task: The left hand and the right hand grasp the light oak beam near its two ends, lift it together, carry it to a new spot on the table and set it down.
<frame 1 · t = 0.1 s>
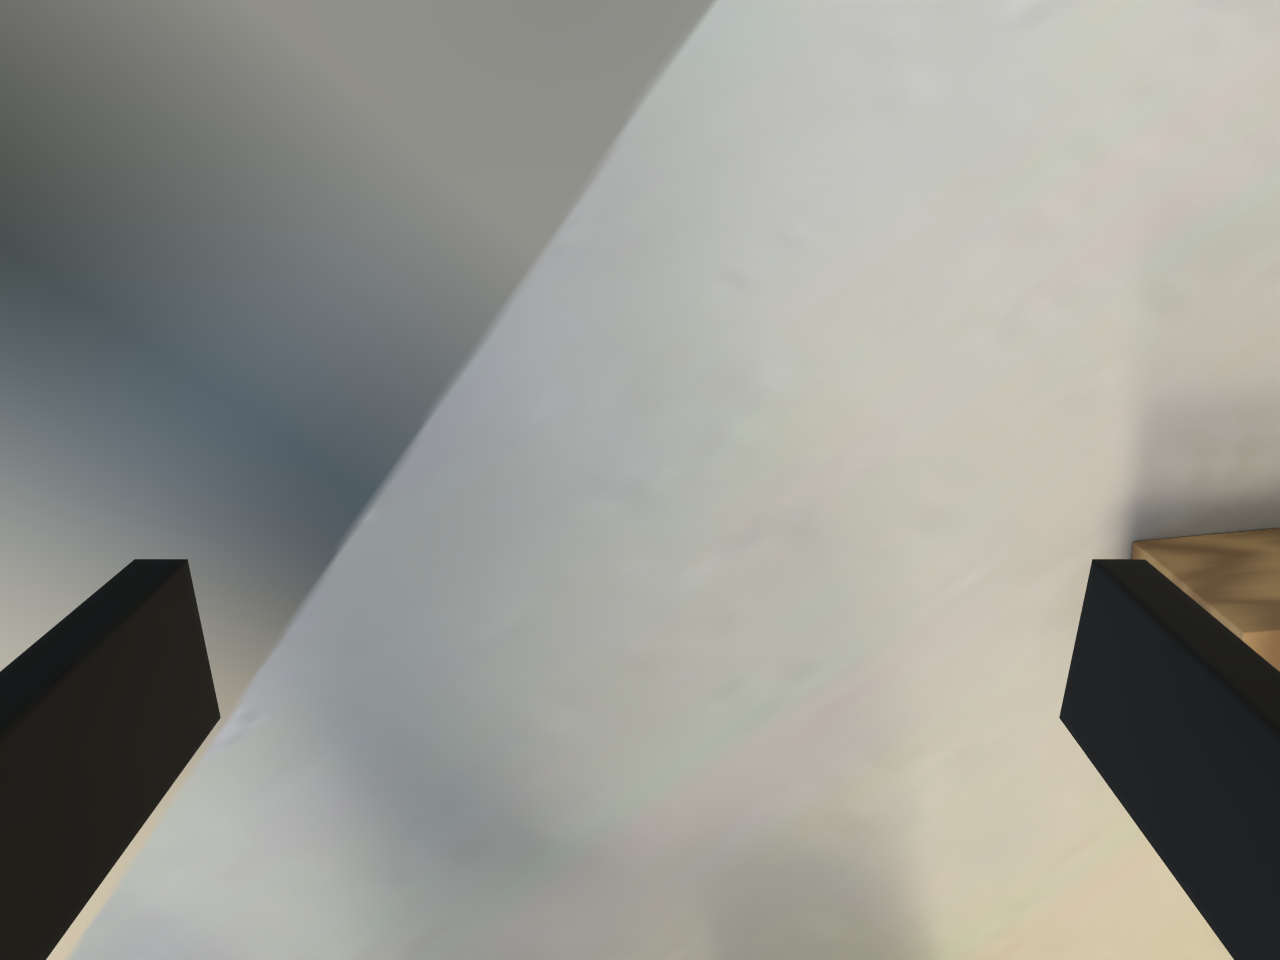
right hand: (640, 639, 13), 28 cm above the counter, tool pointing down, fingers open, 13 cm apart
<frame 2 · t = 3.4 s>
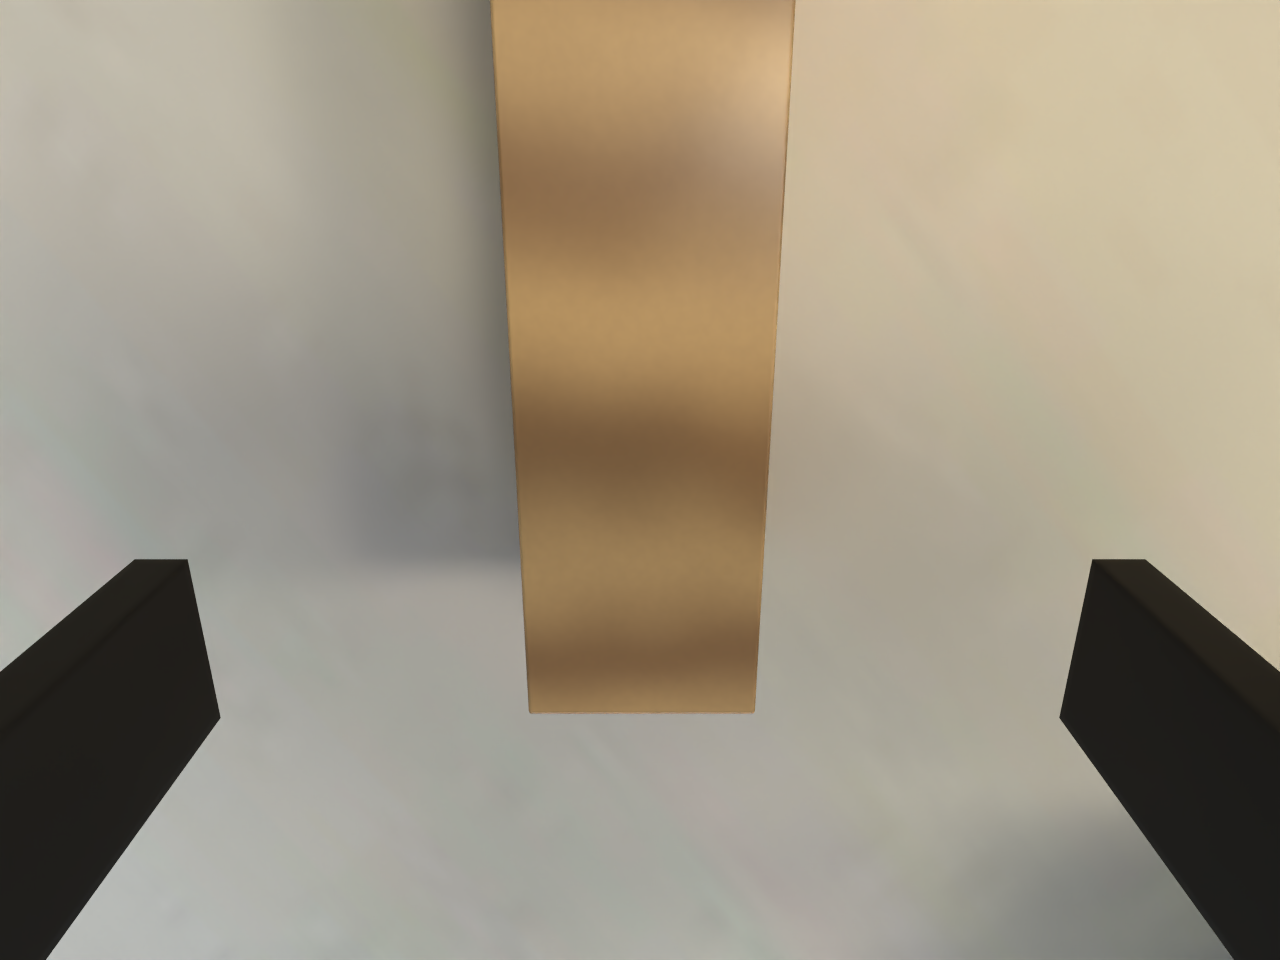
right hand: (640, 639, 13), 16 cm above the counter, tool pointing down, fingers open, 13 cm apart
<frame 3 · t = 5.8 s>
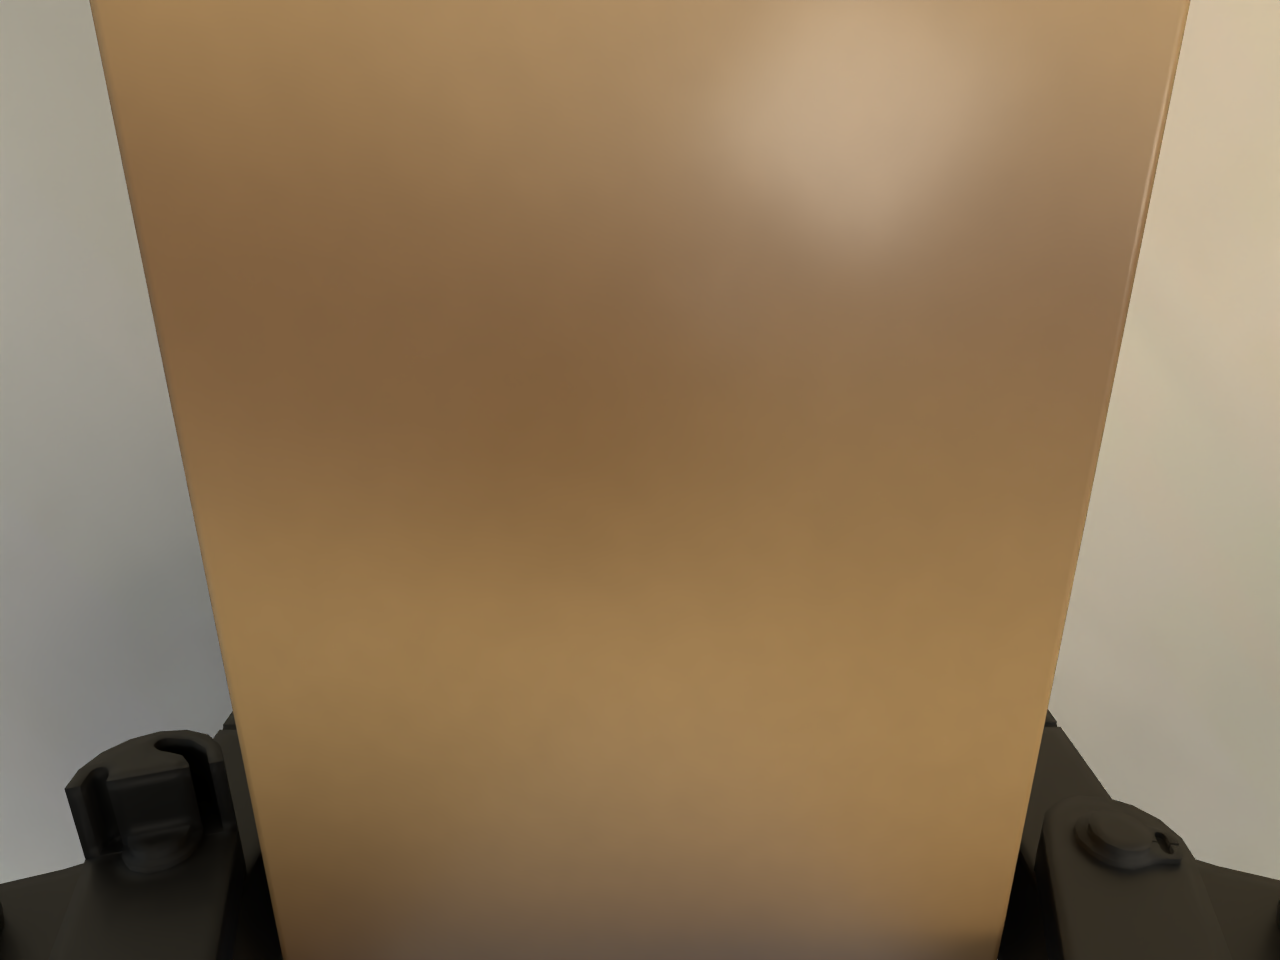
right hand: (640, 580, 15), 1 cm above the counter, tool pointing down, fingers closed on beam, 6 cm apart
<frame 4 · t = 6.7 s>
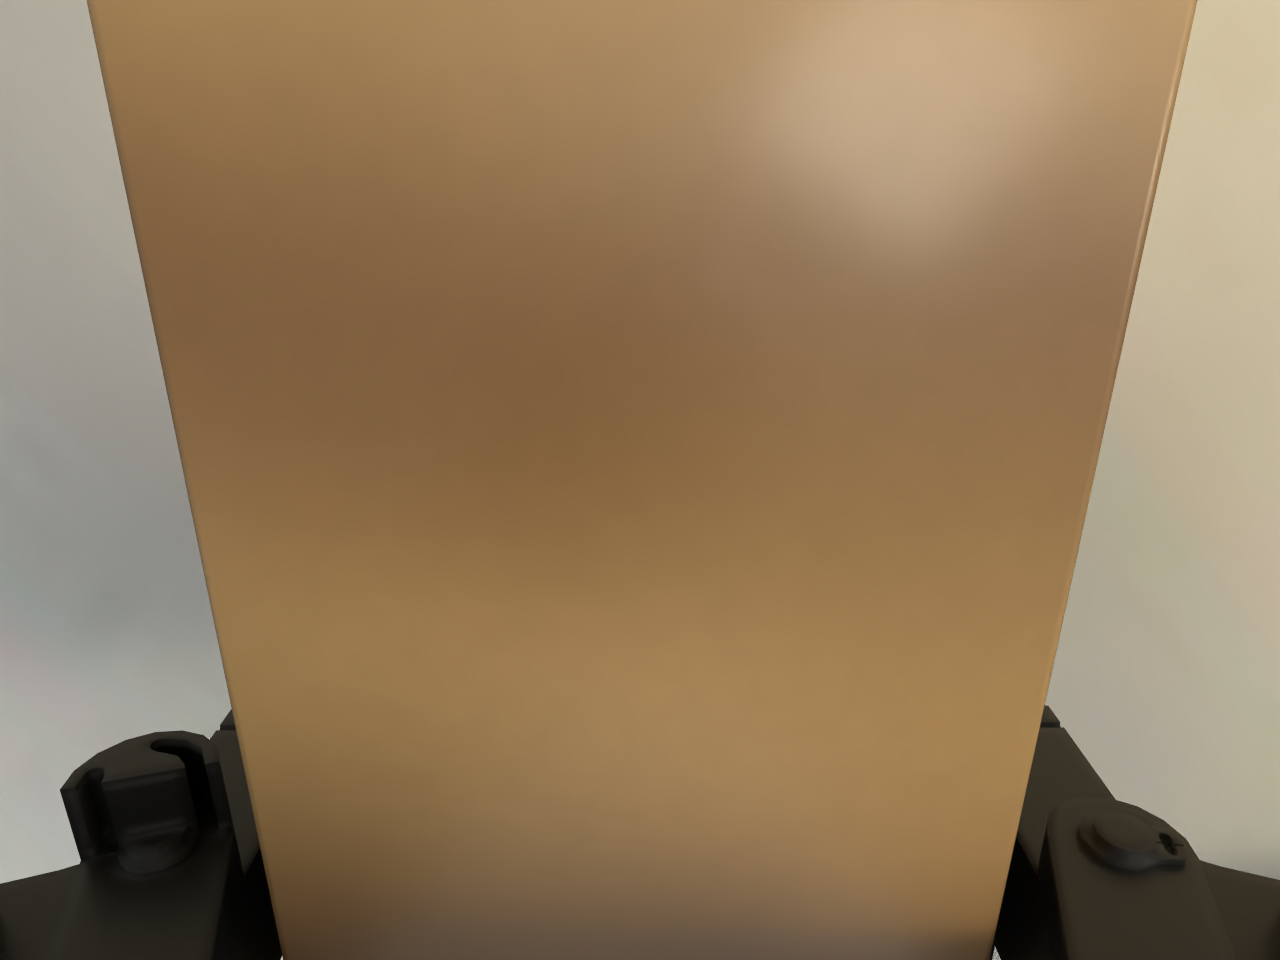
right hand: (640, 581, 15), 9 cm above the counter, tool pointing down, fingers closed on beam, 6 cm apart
when the right hand's fingers open (2 cm above the counter, at t = 10.3 s): beam stays where it is, on the counter.
when the left hand's fingers open (4 cm above the counter, at t = 10.5 s): beam stays where it is, on the counter.
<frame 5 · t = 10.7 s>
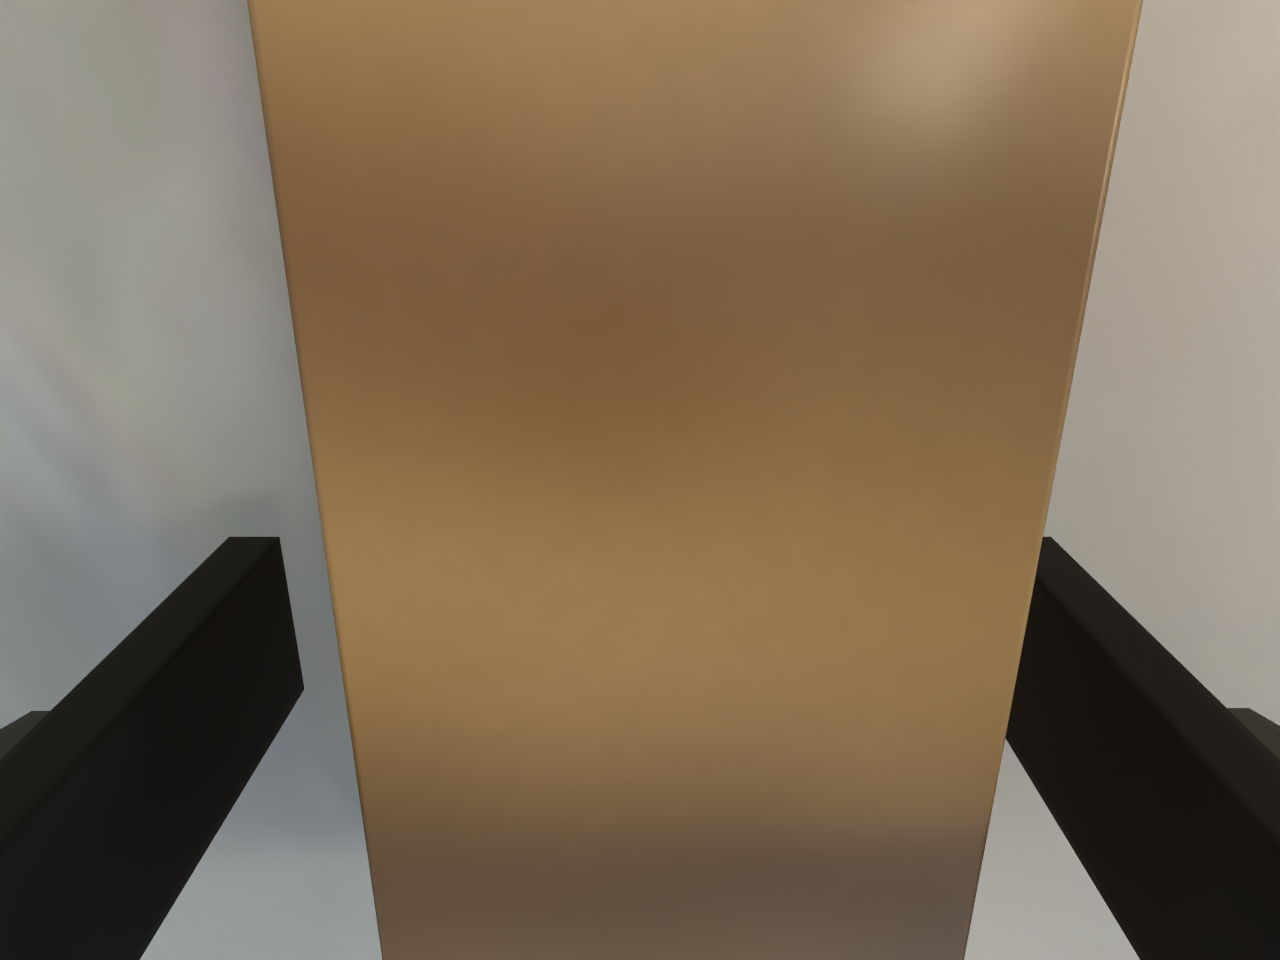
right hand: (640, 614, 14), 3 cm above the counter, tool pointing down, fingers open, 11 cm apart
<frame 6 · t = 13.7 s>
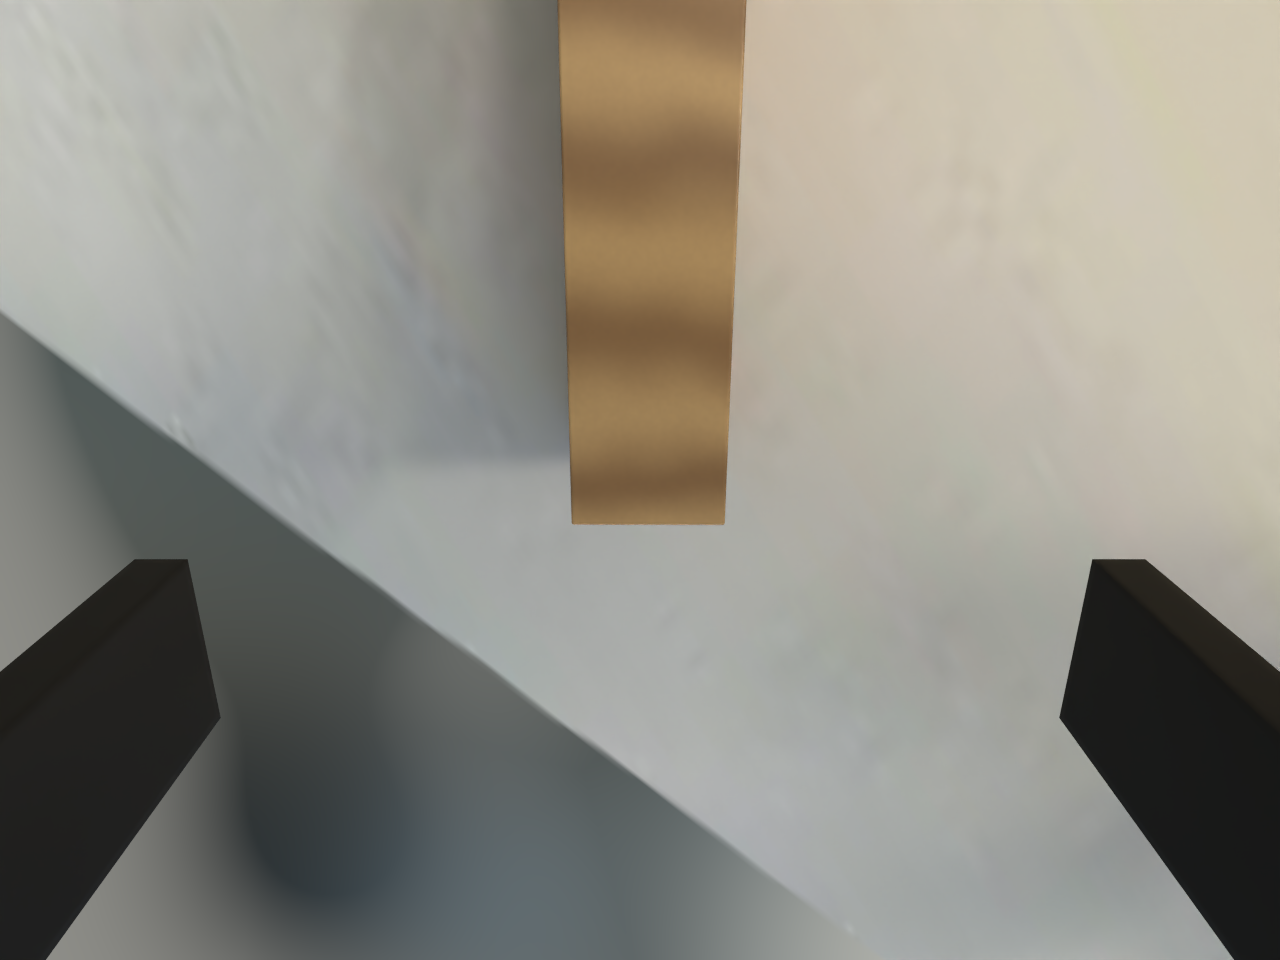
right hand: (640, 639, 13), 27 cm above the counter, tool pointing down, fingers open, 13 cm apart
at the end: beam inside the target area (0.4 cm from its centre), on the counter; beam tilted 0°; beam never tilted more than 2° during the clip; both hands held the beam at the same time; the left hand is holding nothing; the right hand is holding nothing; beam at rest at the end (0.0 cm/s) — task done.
